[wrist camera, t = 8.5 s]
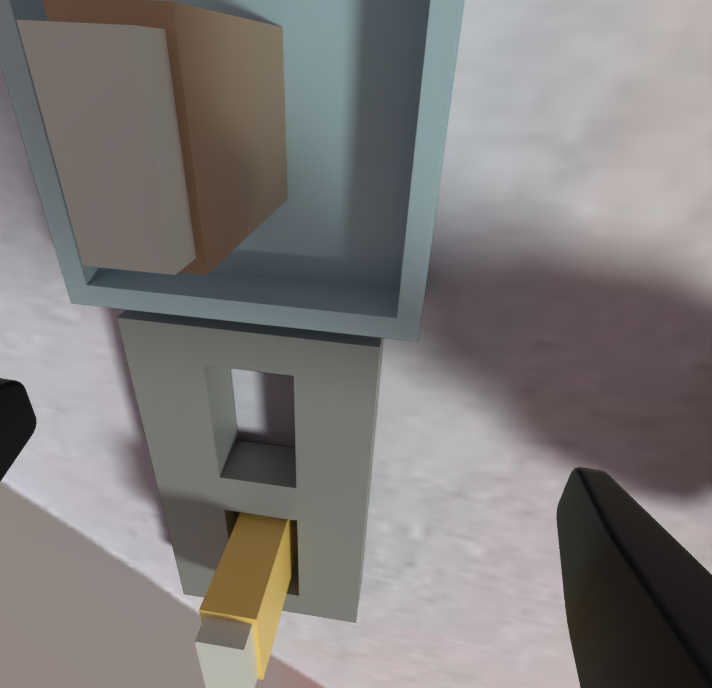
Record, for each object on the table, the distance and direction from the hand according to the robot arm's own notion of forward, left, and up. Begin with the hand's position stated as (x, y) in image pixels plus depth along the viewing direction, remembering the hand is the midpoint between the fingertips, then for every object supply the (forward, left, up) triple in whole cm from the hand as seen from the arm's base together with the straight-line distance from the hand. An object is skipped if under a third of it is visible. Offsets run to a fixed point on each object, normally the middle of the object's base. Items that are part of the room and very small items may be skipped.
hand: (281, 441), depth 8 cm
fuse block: (+4, +12, -11) cm, 17 cm away
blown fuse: (+4, -4, -11) cm, 12 cm away
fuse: (+4, +17, -12) cm, 21 cm away
